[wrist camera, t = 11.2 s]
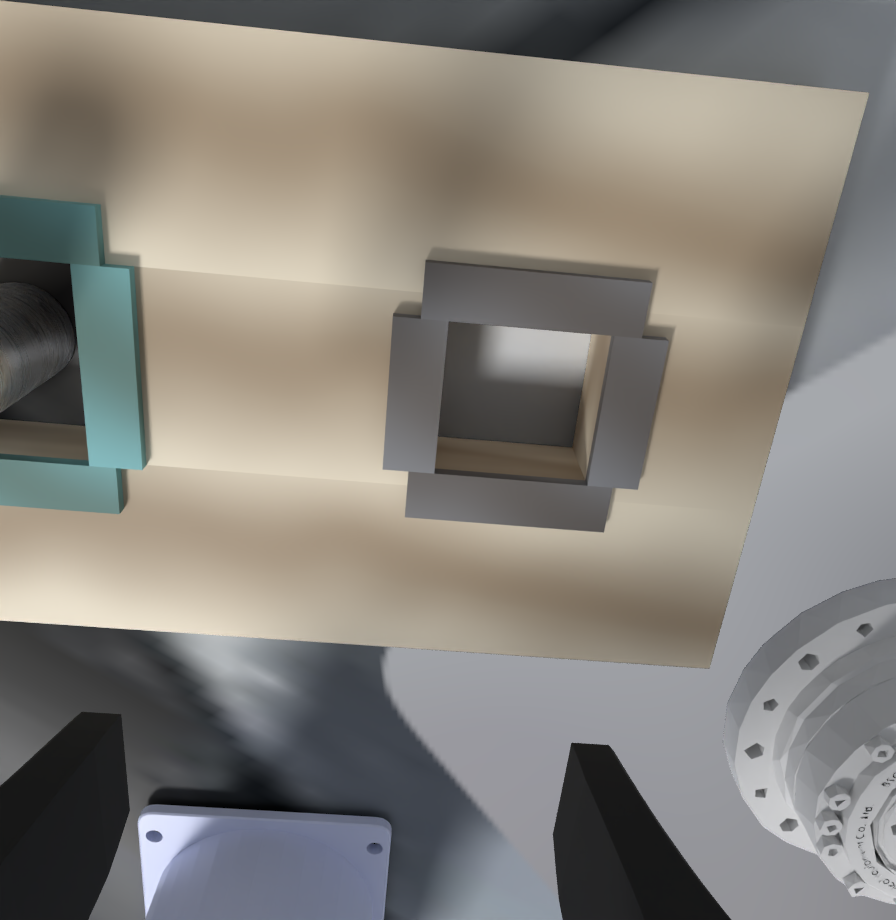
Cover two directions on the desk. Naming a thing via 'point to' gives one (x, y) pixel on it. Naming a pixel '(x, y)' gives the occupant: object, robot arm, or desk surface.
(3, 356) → the steel pin
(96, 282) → the dock board
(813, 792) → the mechanical component
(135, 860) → the desk surface
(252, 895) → the robot arm
